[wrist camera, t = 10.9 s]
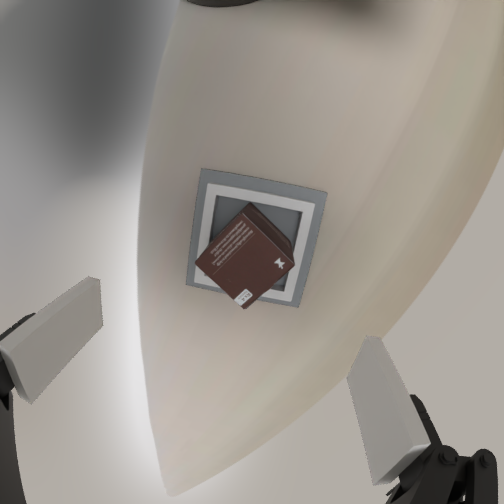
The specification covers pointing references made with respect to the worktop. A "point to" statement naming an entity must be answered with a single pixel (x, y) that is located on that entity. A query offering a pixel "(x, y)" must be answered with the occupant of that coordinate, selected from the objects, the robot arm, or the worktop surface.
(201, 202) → the grey and white frame
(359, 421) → the robot arm
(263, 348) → the worktop surface
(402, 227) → the worktop surface
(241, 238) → the box
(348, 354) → the worktop surface
